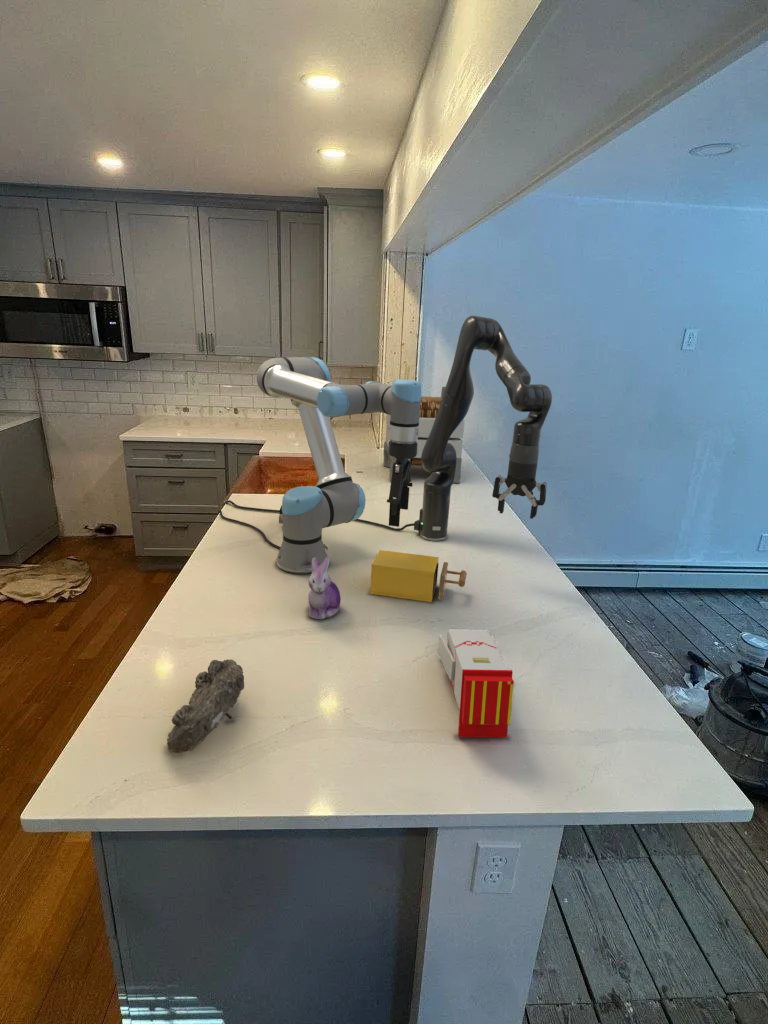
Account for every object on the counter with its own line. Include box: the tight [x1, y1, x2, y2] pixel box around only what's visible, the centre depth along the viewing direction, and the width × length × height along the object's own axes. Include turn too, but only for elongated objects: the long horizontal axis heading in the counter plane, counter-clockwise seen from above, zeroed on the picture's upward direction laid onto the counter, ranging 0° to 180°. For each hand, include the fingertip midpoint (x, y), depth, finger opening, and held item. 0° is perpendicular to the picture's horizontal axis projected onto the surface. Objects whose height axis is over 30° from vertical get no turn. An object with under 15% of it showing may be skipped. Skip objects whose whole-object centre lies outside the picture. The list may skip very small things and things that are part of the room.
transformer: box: [383, 386, 465, 484], centre depth 268 cm, size 34×33×41 cm
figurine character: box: [278, 505, 283, 525], centre depth 204 cm, size 7×8×15 cm
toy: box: [437, 628, 515, 738], centre depth 117 cm, size 12×13×30 cm
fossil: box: [166, 658, 245, 754], centre depth 106 cm, size 22×10×15 cm
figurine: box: [307, 555, 342, 620], centre depth 144 cm, size 9×10×15 cm
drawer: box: [432, 561, 468, 600], centre depth 158 cm, size 21×9×7 cm, turn 78°
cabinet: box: [369, 549, 439, 603], centre depth 159 cm, size 17×10×9 cm, turn 78°
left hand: (398, 517), depth 155 cm, fingers open, 13 cm apart
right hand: (516, 515), depth 159 cm, fingers open, 8 cm apart
